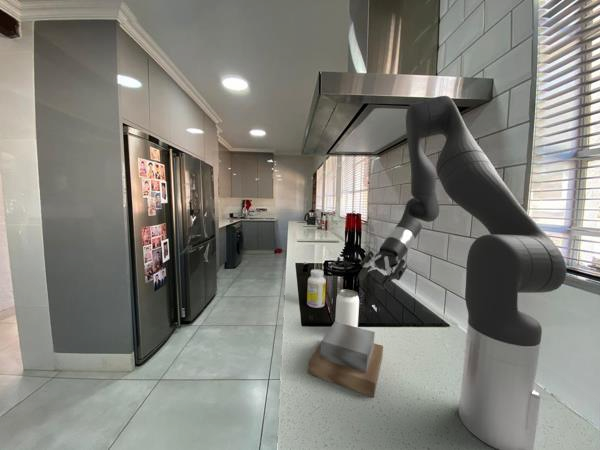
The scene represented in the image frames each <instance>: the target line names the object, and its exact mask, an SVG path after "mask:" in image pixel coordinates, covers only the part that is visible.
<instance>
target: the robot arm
mask: <svg viewBox="0 0 600 450" xmlns="http://www.w3.org/2000/svg"><path fill="white" fill-rule="evenodd" d="M405 130H406V138H407V139H406V141H407V146H408V147H407V148H408V154H409V155H408V156H409V163H410V170H411V171H410V173H411V177H410V178H411V179H410V180H411V181H410V182H411V183H410V184H411V185H410V186H411V187H410V193H411V196H412V198H410V199H408V201H407V202H406V204H405V208H404V211H403V214H402V216H401V219H400V221H399V222H398V223H397V225H396V226H395V228H393V230H391V232H390V233H388V236H386V239H384V241H383V243H382V244H381V245H380V247H379V251H378V252H377V253H373V251H372V250H370V251H369V252H368V253H367V254H366V255H365V257H364V258H363V259H362V260H361V262H360V263H359V264H360V265H361V267H362V269H361V270H360V272H359V273H358V275H357V278H358V279H359V280H360V281H364V280H365V278H366V277H367V276H368V274H369V272H371V271H373V270H375V271H376V270H377V269H379V270H383V271H384V272H386V274H384V276H383V278H382V279H381V280H380V282H379V283H378V286H379V288H380V289H382V290H385V289H386V288H387V287H388V286H389V284H390V283H391V281H394V280H397V281H400V280H401V278H402V276H403V275H404V273H405V272H406V270H407V268H408V264H407V262H406V261H405V259H404V257H405V255H407V253H408V251H409V250H410V248H411V247H412V245H413V243H414V242H415V239H416V238H417V236H418V235H419V234H420V232H421V230H422V228H423V226H422V223H421V221H423V222H427V223H430V222H433V221H435V220H436V219H437V218H438V216H439V214H440V204H439V200H438V197H437V193H436V185H437V177H438V179H439V181H440V184H441V186H442V188H443V189H444V192H445V193H446V194H447V197H449V198H450V199H451V200H452V201H453V202H454V203H456V204H457V206H459V207H460V208H462V209H463V210H464V211H466V212H467V213H469V214H470V215H471V216H473V217H474V218H475V219H476V220H478V221H479V222H480V223H481V224H482V225H483V226H484V227H485V228H486V229H487V231H488V232H489V234H484V235H481V236H479V237H477V238H476V239H475V240H473V242H472V243H471V245H470V247H469V249H468V252H467V259H466V269H465V270H466V271H465V272H466V273H465V274H466V275H465V276H466V277H465V305H466V309H467V314H468V315H467V317H468V318H467V327H466V339H465V348H464V357H463V365H462V366H463V367H462V374H461V375H462V376H461V383H460V394H459V395H460V396H459V403H458V404H459V405H458V416H459V419H460V421H461V422H462V424H463V425H464V427H466V429H467V430H468V431H469V432H470V433H471V434H473V436H475V437H476V438H477V439H478V440H480V441H482V442H483V443H485V444H487V445H489V446H490V447H492V448H494V449H496V450H534V449H535V442H536V434H537V427H538V420H539V419H538V418H539V413H540V412H539V411H540V404H541V395H540V393H539V392H538V391H537V389H536V380H537V374H538V373H537V372H538V371H537V370H538V364H539V357H540V356H539V355H540V348H541V347H540V346H541V342H542V333H543V331H542V330H543V329H542V325H541V324H540V322H539V321H538V320H537V319H535V318H534V317H533V316H531V315H529V314H526V313H525V312H522V311H520V310H519V308H518V301H519V300H518V297H519V295H518V293H521V294H523V293H524V294H525V293H527V294H529V293H531V294H532V293H533V294H534V293H537V294H538V293H542V294H543V293H549V292H553V291H555V290H558V289H560V287H561V286H562V285H563V284H564V282H565V280H566V277H567V265H566V264H567V263H566V260H565V258H564V256H563V253H562V252H561V250H560V249H559V248H558V245H556V243H555V242H554V241H553V240H552V239H551V238H550V237H549V235H548V234H547V233H546V231H544V230H543V229H542V228H541V227H540V226H539V224H538V223H537V222H536V220H534V219H533V217H531V216H530V215H529V214H528V212H527V211H526V210H525V209H524V208H523V206H522V205H521V204H520V203H519V201H518V200H517V198H516V197H515V196H514V194H513V192H511V190H510V189H509V187H508V186H507V185H506V183H505V182H504V180H502V178H501V176H500V174H499V173H498V172H497V170H496V168H495V166H494V164H493V163H492V162H491V161H490V159H489V158H488V157H487V155H486V153H485V152H484V151H483V149H482V148H481V147H480V146H479V144H478V143H477V142H476V140H475V138H474V137H473V135H472V134H471V132H470V131H469V129H468V127H467V126H466V123H465V122H464V119H463V117H462V114H461V112H460V111H459V109H458V106H457V105H456V103H455V102H454V100H453V99H452V98H451V97H450V96H447V95H440V96H436V97H432V98H427V99H424V100H420V101H417V102H414V103H412V104H410V105H409V106H408V108H407V110H406V115H405ZM438 135H442V136H444V137H445V139H446V140H445V142H444V145H443V147H442V150H441V151H440V153H439V156H438V159H437V161H436V168H435V165H434V164H433V162H432V161H431V160H430V159H429V158H428V157H427V155H426V154H425V152H424V150H423V149H422V144H421V139H425V138H428V137H433V136H438ZM419 220H421V221H419Z"/></svg>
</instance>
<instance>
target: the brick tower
mask: <svg viewBox="0 0 600 450" xmlns="http://www.w3.org/2000/svg"><path fill="white" fill-rule="evenodd" d="M375 333H376V331H373V330H369V329H365V328H361V327H358V328H357V327H353V326H349V325H345V324H341V323H337V322H335V321H334V322H333V324H332V325H331V327H330V328H329V329H328V331H327V332H326V333H325V335H324V336H323V337H322V339H321V341H320V343H319V344H318V346H317V348H316V349H315V350H314V352H313V354H312V355H311V356H310V357H309V359H308V365H307V366H308V367H307V374H309V375H311V376H314V377H316V378H319V379H322V380H325V381H328V382H331V383H333V384H336V385H339V386H342V387H345V388H347V389H350V390H352V391H355V392H357V393H361V394H364V395H366V396H369V397H372V398H374V397H375V395H376V389H377V386H378V379H379V375H380V372H381V371H380V370H381V365H382V360H383V355H384V354H383V352H384V345H381V344H378V343H375Z"/></svg>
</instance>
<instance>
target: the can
mask: <svg viewBox="0 0 600 450" xmlns="http://www.w3.org/2000/svg"><path fill="white" fill-rule="evenodd" d="M337 292H338V294H337V296H336V300H335V301H336V303H335V321H334V322H337V323H341V324H345V325H349V326H353V327H357V328H359V327H358V326H359V312H360V311H359V310H360V298H359V292H357V291H355V290H351V289H339V290H338V291H337Z"/></svg>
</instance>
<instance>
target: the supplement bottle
mask: <svg viewBox="0 0 600 450" xmlns="http://www.w3.org/2000/svg"><path fill="white" fill-rule="evenodd" d="M326 282H327V281H326V278H325V277H324V270H322V269H318V268H317V269H315V268H314V269H311V270H310V276H309V277H308V279H307V292H306V293H307V294H306V295H307V296H306V304H307V305H308V306H309V307H311V308H314V309H315V308H316V309H319V308H323V307H324V306H325V304H326V285H327V284H326Z"/></svg>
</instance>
